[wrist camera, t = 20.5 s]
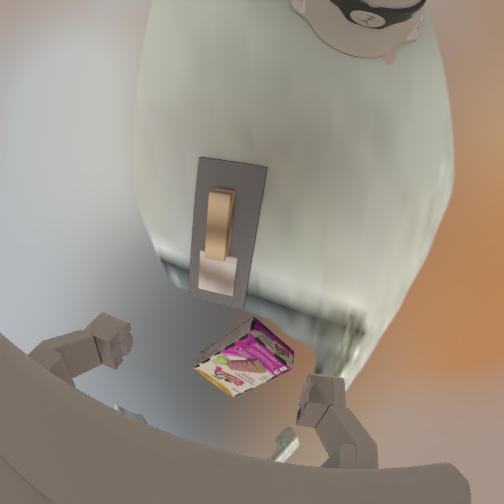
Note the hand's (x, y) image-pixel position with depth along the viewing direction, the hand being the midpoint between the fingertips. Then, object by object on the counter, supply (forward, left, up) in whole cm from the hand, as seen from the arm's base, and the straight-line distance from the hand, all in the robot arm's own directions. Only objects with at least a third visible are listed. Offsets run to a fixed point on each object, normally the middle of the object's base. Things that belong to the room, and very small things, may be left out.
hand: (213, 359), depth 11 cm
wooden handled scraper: (+9, -8, -30) cm, 33 cm away
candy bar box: (+24, +4, -29) cm, 38 cm away
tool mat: (+8, -8, -31) cm, 33 cm away
